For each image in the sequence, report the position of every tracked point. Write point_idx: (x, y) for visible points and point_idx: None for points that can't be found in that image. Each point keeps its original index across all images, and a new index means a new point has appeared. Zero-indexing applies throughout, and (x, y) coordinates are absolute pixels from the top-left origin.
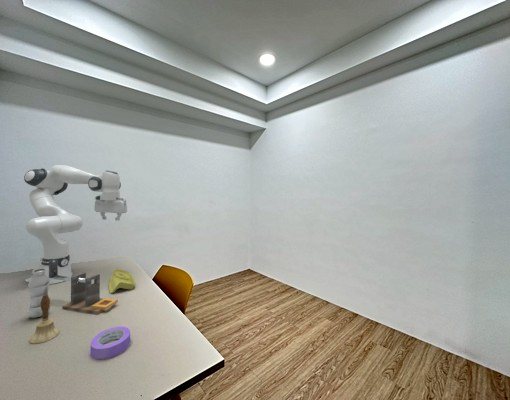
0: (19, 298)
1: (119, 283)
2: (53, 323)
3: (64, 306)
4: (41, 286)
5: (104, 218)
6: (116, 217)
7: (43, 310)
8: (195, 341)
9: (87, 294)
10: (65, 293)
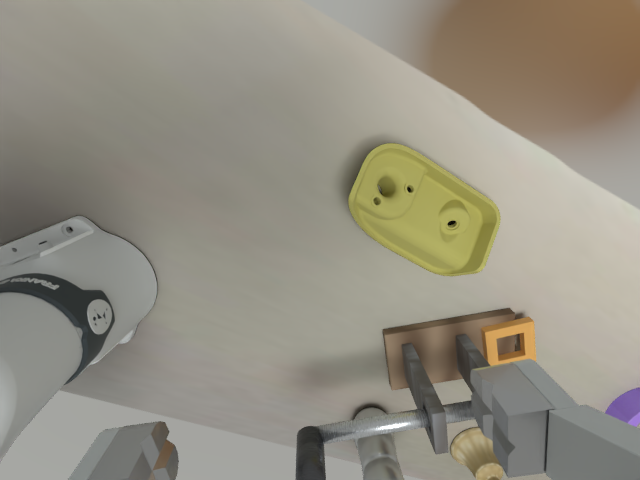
0: (199, 399)
1: (478, 271)
2: (496, 458)
3: (399, 388)
4: None
5: (163, 478)
6: (551, 477)
7: None
8: None
9: None
10: (286, 331)
